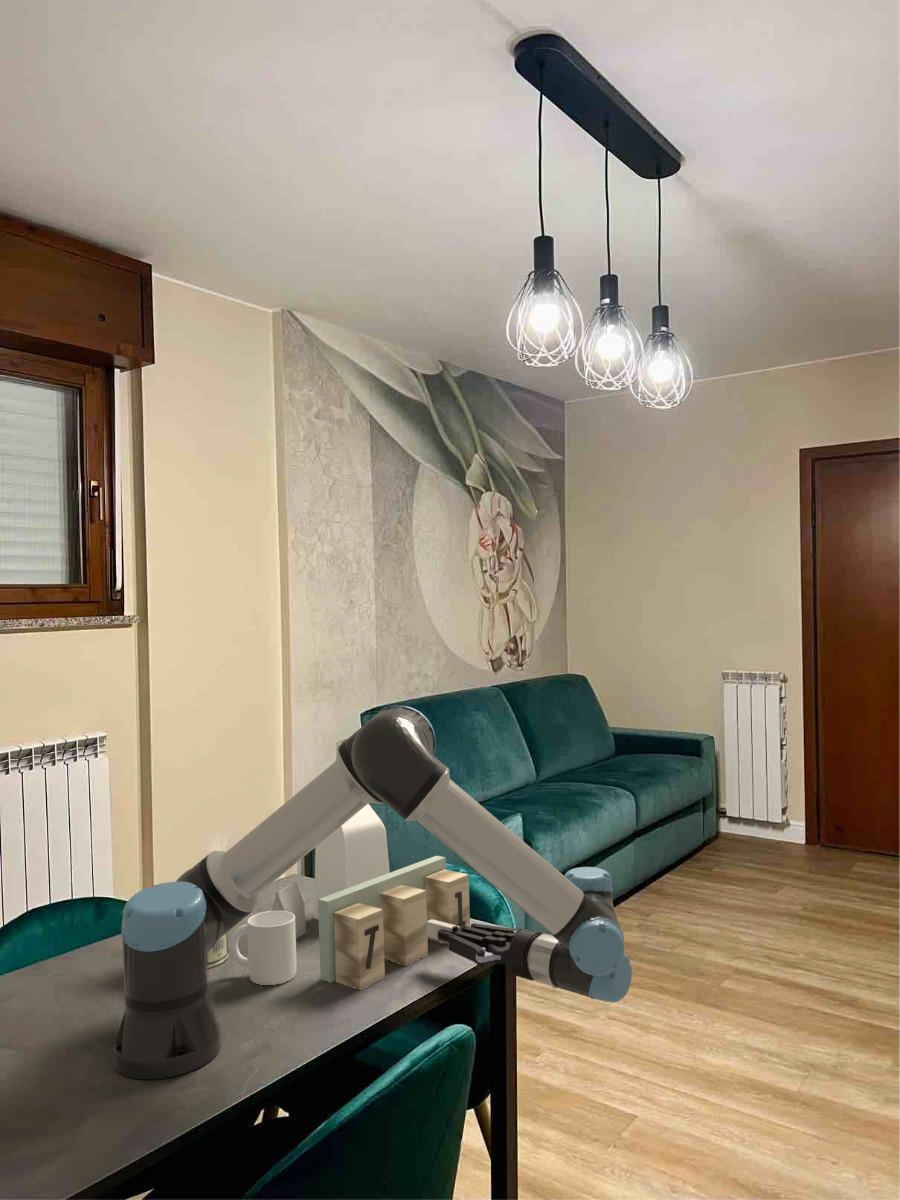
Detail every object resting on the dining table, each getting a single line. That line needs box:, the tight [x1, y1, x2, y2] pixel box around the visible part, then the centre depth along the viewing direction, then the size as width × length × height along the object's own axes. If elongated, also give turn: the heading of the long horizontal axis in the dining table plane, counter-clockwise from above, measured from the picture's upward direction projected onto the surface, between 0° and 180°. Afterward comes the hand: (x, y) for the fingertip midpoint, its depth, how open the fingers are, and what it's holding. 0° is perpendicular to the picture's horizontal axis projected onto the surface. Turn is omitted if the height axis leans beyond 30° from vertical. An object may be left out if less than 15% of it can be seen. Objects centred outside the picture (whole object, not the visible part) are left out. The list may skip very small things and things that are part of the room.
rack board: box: [318, 855, 447, 984], centre depth 169 cm, size 2×32×14 cm, turn 140°
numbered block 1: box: [425, 869, 471, 945], centre depth 175 cm, size 6×6×12 cm
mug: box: [229, 910, 297, 986], centre depth 160 cm, size 12×8×10 cm
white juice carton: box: [270, 881, 306, 940], centre depth 178 cm, size 4×7×10 cm, turn 159°
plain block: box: [380, 885, 429, 966], centre depth 167 cm, size 6×6×12 cm
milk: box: [313, 803, 391, 921], centre depth 189 cm, size 12×12×26 cm
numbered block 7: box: [334, 903, 386, 991], centre depth 157 cm, size 6×6×12 cm
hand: (429, 927), depth 163 cm, fingers closed
